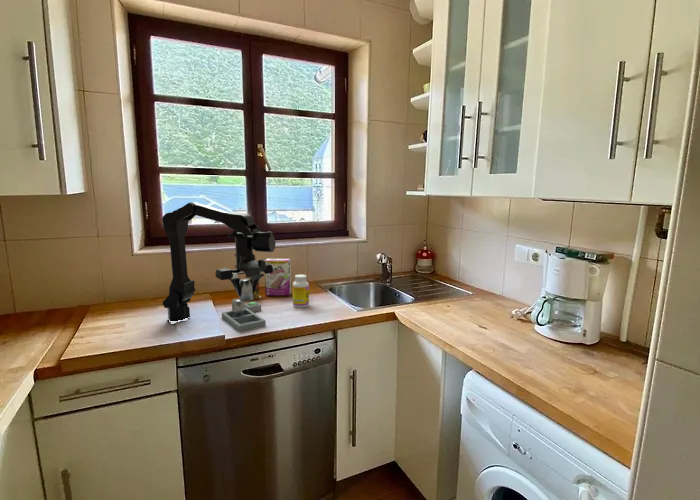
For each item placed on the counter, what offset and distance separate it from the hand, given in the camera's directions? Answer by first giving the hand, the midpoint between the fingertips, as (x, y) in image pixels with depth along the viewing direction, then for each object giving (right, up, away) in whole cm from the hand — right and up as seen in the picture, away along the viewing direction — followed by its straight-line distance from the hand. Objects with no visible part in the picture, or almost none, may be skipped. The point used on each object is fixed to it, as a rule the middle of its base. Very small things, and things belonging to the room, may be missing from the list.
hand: (246, 295), depth 132 cm
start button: (-2, -8, +18) cm, 19 cm away
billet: (0, -2, 0) cm, 2 cm away
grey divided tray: (-2, -11, +5) cm, 12 cm away
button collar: (-2, -9, +18) cm, 20 cm away
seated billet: (-5, -10, +8) cm, 14 cm away
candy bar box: (+4, -5, +41) cm, 41 cm away
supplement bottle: (+16, -8, +25) cm, 31 cm away
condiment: (-7, -6, +34) cm, 35 cm away
